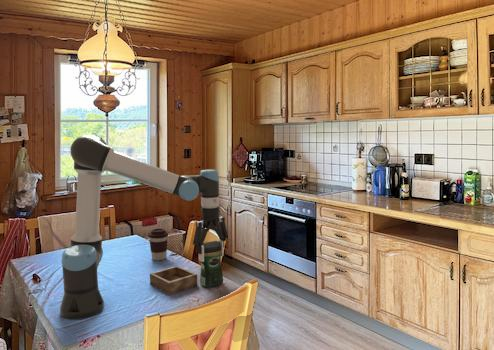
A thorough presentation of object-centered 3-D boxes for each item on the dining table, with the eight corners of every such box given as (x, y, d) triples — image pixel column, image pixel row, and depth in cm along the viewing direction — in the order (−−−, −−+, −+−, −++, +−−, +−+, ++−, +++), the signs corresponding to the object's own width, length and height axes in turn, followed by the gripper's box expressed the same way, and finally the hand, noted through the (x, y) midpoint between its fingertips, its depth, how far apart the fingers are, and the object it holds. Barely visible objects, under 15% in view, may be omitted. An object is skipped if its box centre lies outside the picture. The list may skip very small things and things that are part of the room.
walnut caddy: (169, 294, 167) (169, 282, 166) (150, 284, 178) (149, 273, 177) (197, 285, 177) (197, 274, 176) (177, 276, 187) (177, 265, 187)
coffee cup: (146, 257, 215) (145, 229, 213) (164, 254, 220) (163, 226, 218) (153, 262, 207) (152, 233, 205) (172, 259, 212) (171, 230, 210)
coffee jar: (217, 278, 184) (216, 238, 182) (225, 284, 177) (224, 242, 175) (197, 283, 179) (196, 241, 177) (204, 289, 172) (203, 246, 170)
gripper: (193, 211, 163) (195, 266, 166) (236, 204, 178) (236, 254, 181) (182, 209, 168) (184, 262, 171) (224, 201, 184) (225, 250, 186)
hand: (211, 258), depth 176 cm, fingers open, 10 cm apart
